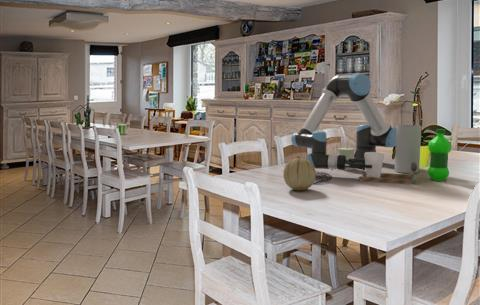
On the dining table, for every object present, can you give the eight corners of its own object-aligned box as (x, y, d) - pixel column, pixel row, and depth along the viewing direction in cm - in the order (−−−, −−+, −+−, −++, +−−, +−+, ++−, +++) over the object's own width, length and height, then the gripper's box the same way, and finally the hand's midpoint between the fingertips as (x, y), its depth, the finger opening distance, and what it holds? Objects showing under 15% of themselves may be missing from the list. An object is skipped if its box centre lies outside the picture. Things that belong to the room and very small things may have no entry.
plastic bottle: (422, 177, 229) (425, 128, 225) (443, 177, 229) (445, 128, 226) (432, 181, 219) (435, 130, 215) (453, 181, 219) (456, 130, 216)
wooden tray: (359, 180, 223) (359, 163, 221) (362, 175, 236) (363, 158, 235) (416, 184, 213) (417, 166, 212) (416, 178, 226) (417, 161, 225)
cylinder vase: (407, 174, 237) (409, 127, 234) (389, 170, 248) (391, 125, 245) (424, 172, 243) (426, 126, 239) (405, 168, 254) (407, 124, 250)
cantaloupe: (293, 195, 194) (293, 160, 192) (277, 188, 208) (277, 156, 205) (322, 191, 200) (323, 158, 198) (304, 185, 213) (305, 153, 211)
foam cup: (361, 177, 231) (361, 152, 230) (378, 176, 232) (379, 151, 230) (367, 181, 222) (368, 154, 220) (386, 180, 223) (387, 154, 221)
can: (355, 168, 258) (356, 147, 256) (352, 170, 250) (352, 149, 248) (339, 166, 262) (339, 146, 260) (335, 169, 254) (336, 148, 252)
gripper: (341, 165, 245) (382, 167, 237) (333, 173, 222) (378, 176, 214) (341, 151, 244) (382, 153, 236) (333, 158, 221) (378, 160, 213)
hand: (380, 164), depth 225 cm, fingers open, 13 cm apart
